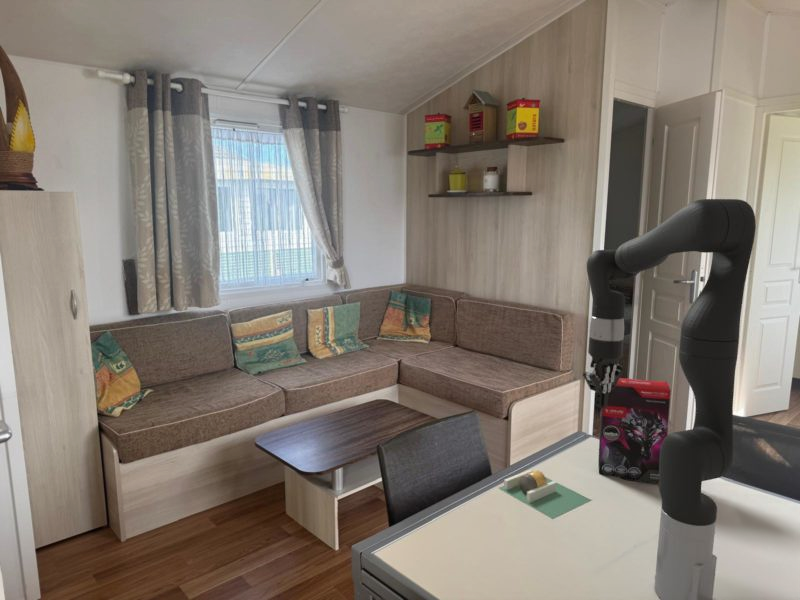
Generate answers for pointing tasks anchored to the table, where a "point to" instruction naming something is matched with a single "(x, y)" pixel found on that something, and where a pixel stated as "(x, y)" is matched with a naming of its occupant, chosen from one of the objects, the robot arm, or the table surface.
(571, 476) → the table surface
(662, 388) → the graphics card box
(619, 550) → the table surface
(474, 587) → the table surface
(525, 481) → the amber plug
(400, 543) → the table surface
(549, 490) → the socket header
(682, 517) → the robot arm
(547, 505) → the green board
